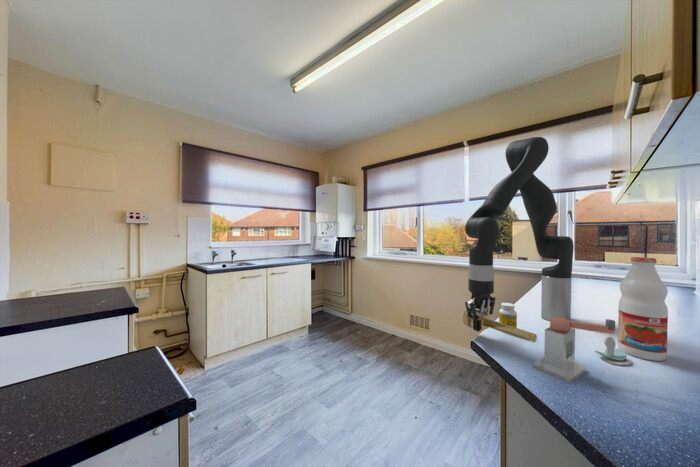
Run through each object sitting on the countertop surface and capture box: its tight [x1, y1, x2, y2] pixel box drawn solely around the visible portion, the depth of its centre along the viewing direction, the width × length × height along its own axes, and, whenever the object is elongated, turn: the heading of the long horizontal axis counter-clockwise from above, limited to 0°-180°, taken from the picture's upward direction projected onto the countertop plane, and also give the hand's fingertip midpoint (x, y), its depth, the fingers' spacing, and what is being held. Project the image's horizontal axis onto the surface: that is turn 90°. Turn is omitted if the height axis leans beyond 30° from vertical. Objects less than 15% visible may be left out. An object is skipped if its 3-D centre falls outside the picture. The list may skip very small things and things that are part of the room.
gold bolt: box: [462, 309, 538, 343], centre depth 80 cm, size 6×20×6 cm, turn 31°
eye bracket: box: [532, 326, 588, 384], centre depth 66 cm, size 10×8×10 cm
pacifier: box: [594, 336, 632, 366], centre depth 70 cm, size 7×6×6 cm
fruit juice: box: [617, 256, 669, 362], centre depth 74 cm, size 9×9×28 cm
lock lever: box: [549, 317, 616, 335], centre depth 64 cm, size 12×4×4 cm, turn 60°
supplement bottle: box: [498, 302, 518, 328], centre depth 91 cm, size 5×5×10 cm
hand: (480, 328), depth 85 cm, fingers closed on gold bolt, 3 cm apart
